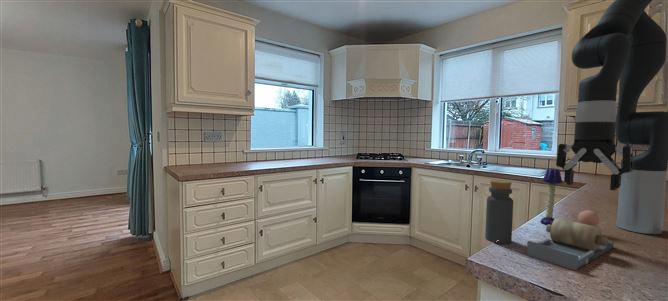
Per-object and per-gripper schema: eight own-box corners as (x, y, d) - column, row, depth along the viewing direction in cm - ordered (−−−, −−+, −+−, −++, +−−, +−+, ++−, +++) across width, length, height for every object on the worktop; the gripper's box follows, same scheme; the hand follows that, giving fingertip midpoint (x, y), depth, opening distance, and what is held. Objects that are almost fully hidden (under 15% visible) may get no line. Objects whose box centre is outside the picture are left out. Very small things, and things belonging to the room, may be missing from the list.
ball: (581, 223, 79) (582, 207, 78) (601, 227, 75) (602, 211, 75) (575, 225, 76) (576, 209, 76) (595, 230, 73) (596, 213, 73)
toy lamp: (562, 224, 91) (565, 168, 90) (555, 227, 88) (559, 169, 87) (544, 220, 95) (546, 167, 94) (537, 223, 92) (540, 168, 91)
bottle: (488, 234, 82) (490, 178, 81) (513, 239, 78) (516, 181, 77) (482, 240, 77) (484, 181, 76) (508, 246, 73) (511, 184, 72)
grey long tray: (568, 236, 81) (569, 225, 81) (613, 247, 74) (614, 234, 73) (526, 255, 68) (527, 241, 68) (575, 270, 61) (576, 255, 61)
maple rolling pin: (542, 241, 75) (543, 218, 74) (552, 237, 78) (553, 215, 78) (600, 257, 65) (602, 231, 65) (609, 251, 69) (611, 227, 68)
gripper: (640, 120, 70) (634, 190, 71) (566, 121, 82) (562, 182, 83) (630, 119, 66) (624, 193, 67) (554, 120, 78) (550, 184, 79)
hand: (590, 187), depth 75 cm, fingers open, 8 cm apart
